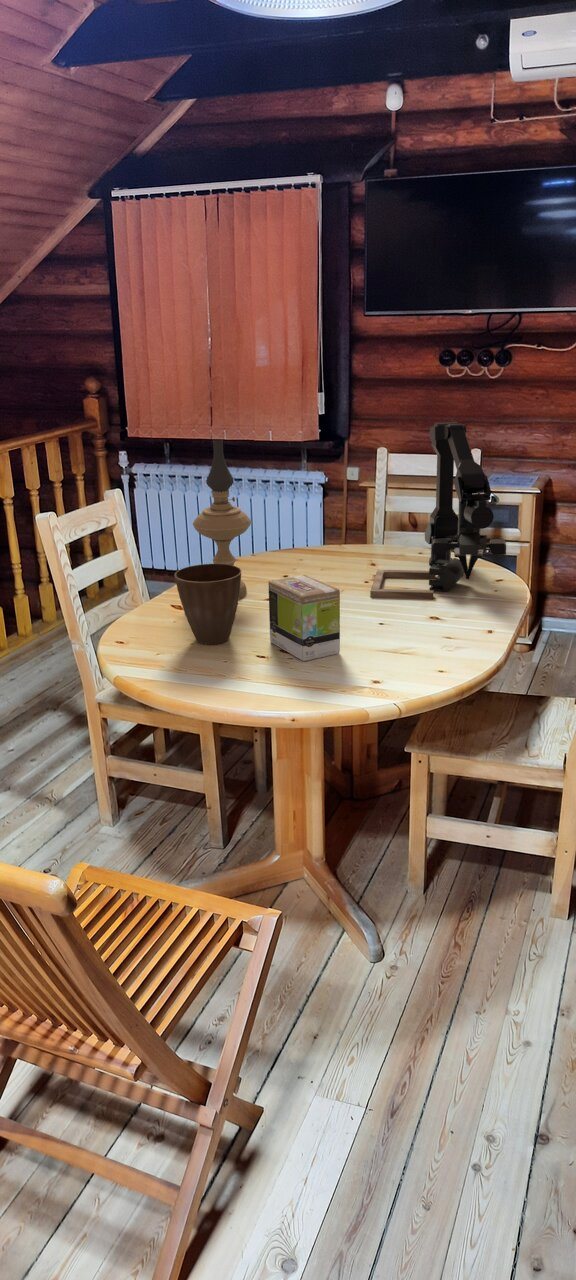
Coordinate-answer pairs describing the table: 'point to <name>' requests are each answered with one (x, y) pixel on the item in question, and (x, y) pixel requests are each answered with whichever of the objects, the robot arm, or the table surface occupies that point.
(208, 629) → the plant pot
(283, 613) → the tea box
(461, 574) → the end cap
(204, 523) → the oil lamp
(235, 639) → the table surface
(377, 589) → the brown u-shaped frame
